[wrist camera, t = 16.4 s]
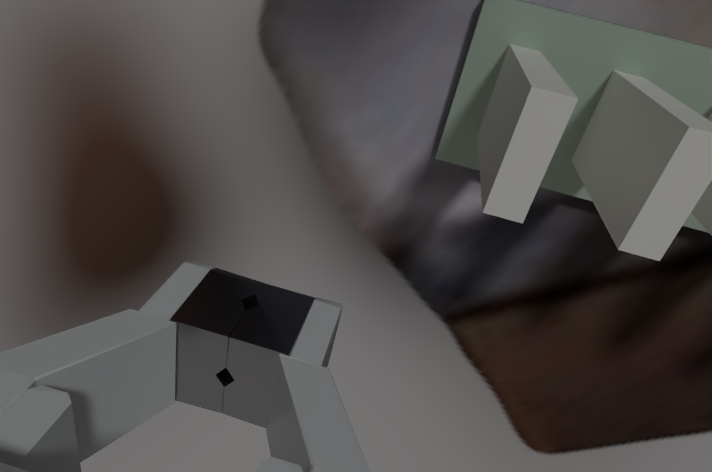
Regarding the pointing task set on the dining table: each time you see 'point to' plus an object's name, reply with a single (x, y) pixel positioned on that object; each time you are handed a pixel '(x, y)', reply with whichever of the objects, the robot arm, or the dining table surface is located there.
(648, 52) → the domino board
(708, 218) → the domino
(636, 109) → the domino
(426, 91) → the dining table surface
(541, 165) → the domino
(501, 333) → the dining table surface
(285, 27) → the dining table surface
